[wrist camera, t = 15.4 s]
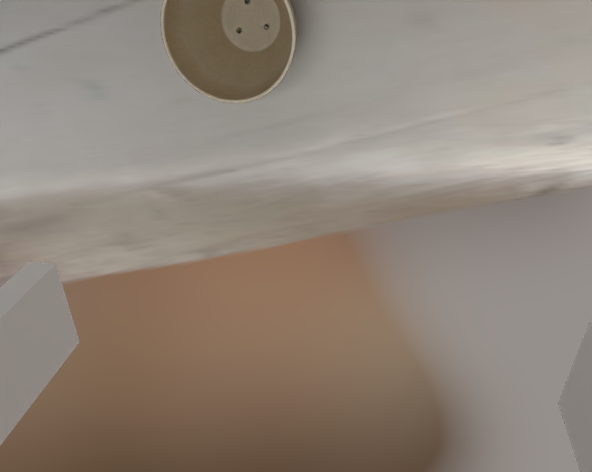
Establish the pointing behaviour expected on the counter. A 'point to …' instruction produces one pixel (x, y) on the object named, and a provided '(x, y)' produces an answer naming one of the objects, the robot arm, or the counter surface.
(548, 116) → the counter surface
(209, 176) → the counter surface
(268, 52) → the flower pot
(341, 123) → the counter surface
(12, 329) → the robot arm
